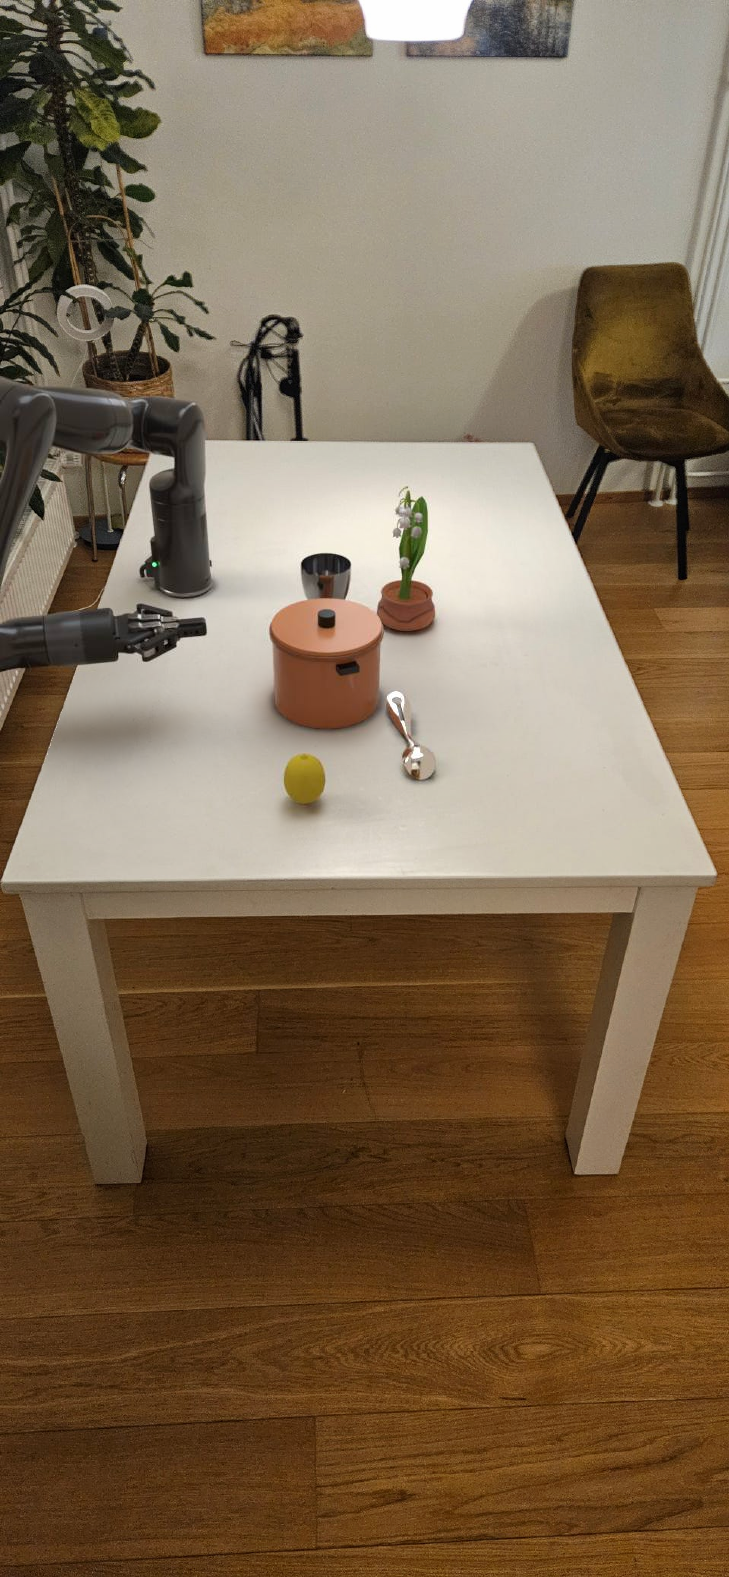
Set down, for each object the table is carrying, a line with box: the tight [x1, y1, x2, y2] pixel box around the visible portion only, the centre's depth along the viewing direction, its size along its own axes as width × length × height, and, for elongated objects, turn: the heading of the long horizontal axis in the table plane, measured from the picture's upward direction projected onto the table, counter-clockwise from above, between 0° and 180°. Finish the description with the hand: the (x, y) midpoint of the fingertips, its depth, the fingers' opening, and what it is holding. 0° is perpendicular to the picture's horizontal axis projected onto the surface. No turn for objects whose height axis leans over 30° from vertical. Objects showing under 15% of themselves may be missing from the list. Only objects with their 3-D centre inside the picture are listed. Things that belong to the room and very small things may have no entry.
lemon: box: [283, 753, 326, 805], centre depth 146 cm, size 6×6×8 cm
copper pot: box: [268, 598, 385, 730], centre depth 164 cm, size 17×19×15 cm
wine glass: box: [300, 552, 352, 600], centre depth 176 cm, size 8×8×15 cm
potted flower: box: [376, 485, 436, 632], centre depth 180 cm, size 12×10×25 cm
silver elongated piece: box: [385, 691, 437, 781], centre depth 159 cm, size 20×4×5 cm
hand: (205, 626), depth 156 cm, fingers closed
